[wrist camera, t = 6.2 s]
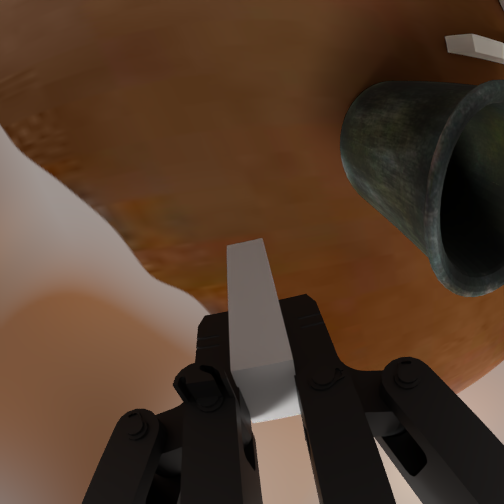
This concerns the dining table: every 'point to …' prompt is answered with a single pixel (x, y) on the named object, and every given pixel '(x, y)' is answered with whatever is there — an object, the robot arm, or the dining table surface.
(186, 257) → the dining table surface
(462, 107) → the mug
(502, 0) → the cylinder
